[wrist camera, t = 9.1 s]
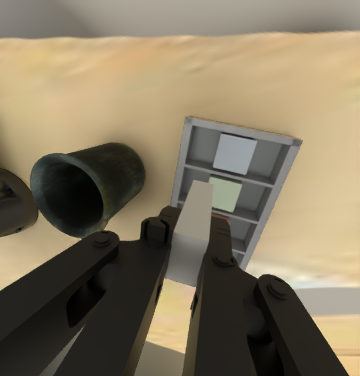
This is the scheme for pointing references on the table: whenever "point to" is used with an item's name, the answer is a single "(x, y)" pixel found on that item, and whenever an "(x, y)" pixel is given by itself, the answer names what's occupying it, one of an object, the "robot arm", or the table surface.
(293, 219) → the table surface
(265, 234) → the table surface
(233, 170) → the key slate
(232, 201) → the key sage
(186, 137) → the grey compartment rack
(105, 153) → the mug
